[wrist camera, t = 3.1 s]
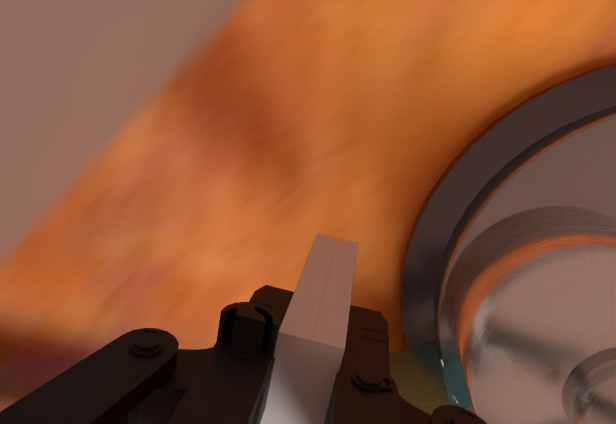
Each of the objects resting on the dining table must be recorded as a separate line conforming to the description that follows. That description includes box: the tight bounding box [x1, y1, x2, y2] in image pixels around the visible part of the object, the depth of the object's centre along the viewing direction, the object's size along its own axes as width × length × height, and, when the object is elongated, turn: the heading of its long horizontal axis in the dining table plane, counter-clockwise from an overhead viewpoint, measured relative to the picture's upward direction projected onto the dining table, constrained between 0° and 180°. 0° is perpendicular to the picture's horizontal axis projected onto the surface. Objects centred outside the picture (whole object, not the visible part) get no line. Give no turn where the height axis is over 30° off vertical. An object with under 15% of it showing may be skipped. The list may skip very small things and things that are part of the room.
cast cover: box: [445, 206, 616, 424], centre depth 14 cm, size 8×8×7 cm
